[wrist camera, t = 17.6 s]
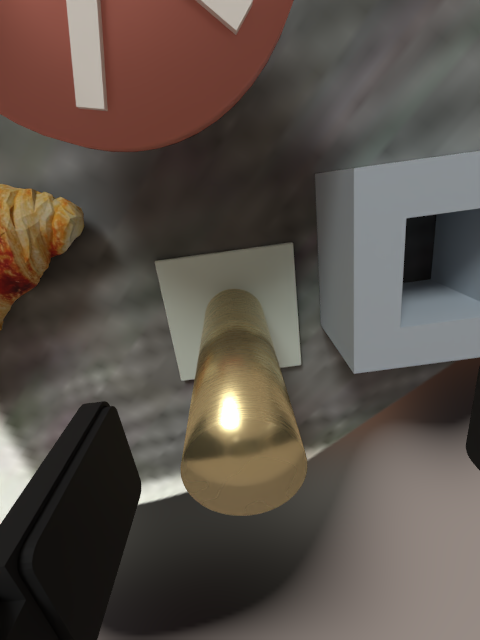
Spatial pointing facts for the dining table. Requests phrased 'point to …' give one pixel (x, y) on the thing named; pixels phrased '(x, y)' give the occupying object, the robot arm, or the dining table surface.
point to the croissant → (31, 238)
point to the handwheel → (131, 66)
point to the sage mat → (222, 274)
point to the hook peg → (240, 415)
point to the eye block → (400, 262)
